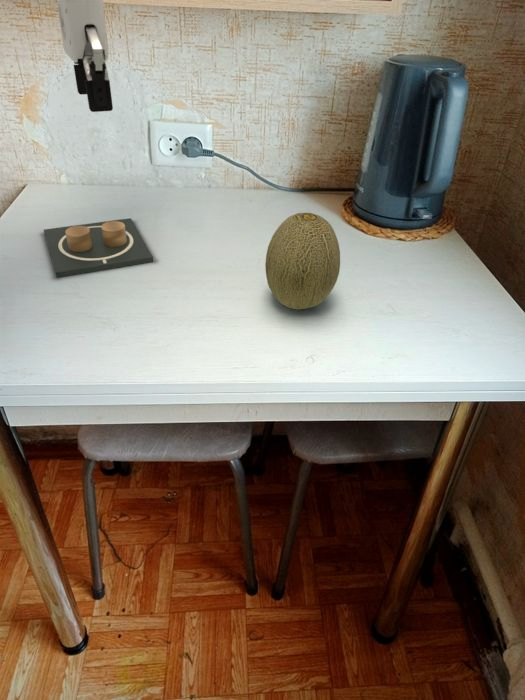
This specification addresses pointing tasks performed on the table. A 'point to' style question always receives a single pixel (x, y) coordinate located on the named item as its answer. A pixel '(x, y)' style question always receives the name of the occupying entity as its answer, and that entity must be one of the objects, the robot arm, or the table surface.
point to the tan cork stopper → (114, 233)
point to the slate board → (96, 250)
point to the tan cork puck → (78, 238)
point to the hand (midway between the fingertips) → (94, 101)
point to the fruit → (302, 261)
